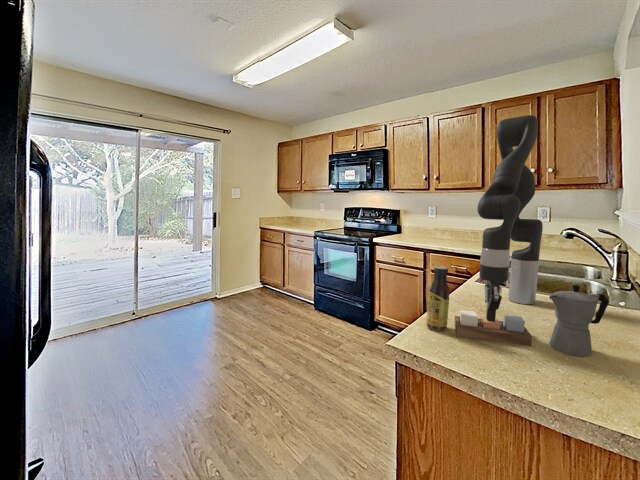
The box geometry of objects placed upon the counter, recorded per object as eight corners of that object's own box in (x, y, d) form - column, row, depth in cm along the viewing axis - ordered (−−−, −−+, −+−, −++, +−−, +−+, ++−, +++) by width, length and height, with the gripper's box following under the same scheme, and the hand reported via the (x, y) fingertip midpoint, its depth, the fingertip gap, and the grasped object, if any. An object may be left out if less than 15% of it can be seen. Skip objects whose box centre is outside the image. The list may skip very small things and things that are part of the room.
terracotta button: (480, 329, 98) (481, 316, 97) (496, 331, 96) (497, 318, 96) (482, 334, 94) (483, 321, 93) (499, 336, 92) (500, 323, 92)
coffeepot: (558, 357, 81) (564, 289, 79) (533, 341, 91) (539, 280, 88) (618, 358, 81) (626, 290, 79) (588, 342, 90) (594, 280, 88)
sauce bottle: (422, 325, 102) (424, 265, 100) (437, 323, 104) (440, 264, 102) (436, 333, 96) (439, 269, 93) (452, 330, 98) (455, 268, 96)
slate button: (502, 327, 96) (503, 314, 95) (519, 329, 94) (520, 316, 94) (506, 333, 92) (507, 319, 91) (523, 335, 90) (524, 321, 90)
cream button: (459, 322, 100) (460, 310, 99) (475, 324, 98) (476, 311, 98) (461, 327, 95) (461, 314, 95) (477, 329, 94) (478, 316, 94)
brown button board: (454, 324, 103) (454, 315, 103) (521, 332, 97) (522, 323, 96) (456, 337, 94) (457, 327, 93) (531, 346, 87) (532, 336, 87)
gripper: (514, 269, 85) (510, 330, 87) (504, 260, 97) (500, 314, 99) (483, 267, 87) (479, 326, 90) (477, 259, 100) (473, 311, 102)
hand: (490, 320), depth 94 cm, fingers closed
